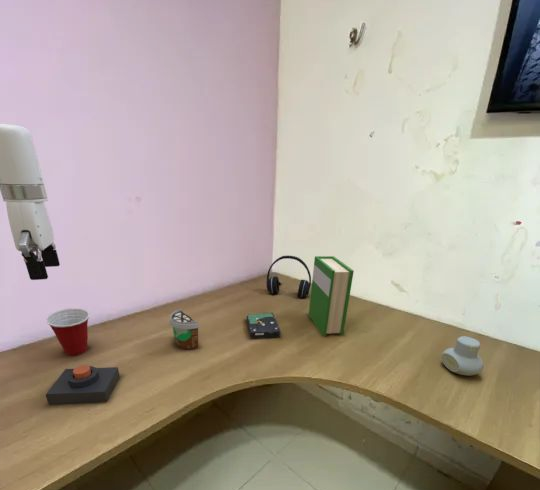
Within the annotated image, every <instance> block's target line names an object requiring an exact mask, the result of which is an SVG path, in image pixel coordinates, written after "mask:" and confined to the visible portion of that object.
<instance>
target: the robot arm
mask: <svg viewBox="0 0 540 490" xmlns="http://www.w3.org/2000/svg"><path fill="white" fill-rule="evenodd" d="M43 178H44V177H43V175H42V171H41V167H40V163H39V159H38V154H37V151H36V147H35V143H34V139H33V136H32V133H31V132H30V130H29V129H28V128H26V127H24V126H22V125H18V124H10V123H8V124H7V123H0V195H1V196H2V197H1V198H2V201H3V202H5V206H6V213H7V218H8V223H9V227H10V232H11V235H12V239H13V243H14V247H15V249H16V250H17V251H19V252H21V254H20V255H21V256H22V257H23V263H25V267H26V270H27V274H28V277H29V279H30V280H31V281H39V280H48V278H49V275H48V272H47V268H51V267H53V268H54V267H60V265H61V264H60V263H61V262H60V259H59V255H58V251H57V249H56V244H55V236H54V235H55V234H54V230H53V227H52V222H51V219H50V216H49V212H48V210H47V207H46V204H45V202H48V201H49V199H48V195H47V191H46V187H45V183H44V179H43Z"/></svg>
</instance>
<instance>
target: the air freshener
mask: <svg viewBox="0 0 540 490" xmlns="http://www.w3.org/2000/svg"><path fill="white" fill-rule="evenodd" d="M480 349H481V343H480V341H479V340H477V339H475V338H472V337H470V336H465V335H463V336H460V337H457V339H456V342H455V345H454V347H450V348H447V349H445V350H444V351H443V352H442V353H441V362H442V363H443V365H444V367H446V368H447V369H448V370H449V371H450V372H452V373H455V374H458V375H461V376H467V377H468V376H475V375H478V374H480V373H481V372H482V371H483V370H484V366H485V365H484V362H483V359H482V358H481V357H480V356H479V355H478V353H479V351H480Z"/></svg>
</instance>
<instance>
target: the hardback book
mask: <svg viewBox="0 0 540 490" xmlns="http://www.w3.org/2000/svg"><path fill="white" fill-rule="evenodd" d="M354 272H355V270H353V269H352V268H351V267H350V266H348V265H347V264H345V262H343V261H341V260H340V259H339V258H338V257H335V255H329V256H327V255H322V256H321V255H320V256H319V255H316V256H314V261H313V270H312V278H311V287H310V297H309V308H308V309H309V310H308V316H309V318H310V319H311V320H312V322H313V324H314V325H315V326H316V328H317V329H318V331H319V332H320V334H321V336H322V337H327V335H328V334H339V336H344V332H345V326H346V320H347V315H348V314H347V313H348V307H349V302H350V296H351V290H352V284H353V278H354Z"/></svg>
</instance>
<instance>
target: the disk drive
mask: <svg viewBox="0 0 540 490" xmlns="http://www.w3.org/2000/svg"><path fill="white" fill-rule="evenodd" d="M246 323H247V326H248V331H249V336H250V338H251V339H265V338H267V339H268V338H269V339H270V338H280V337H281V328H280V326H279V324H278V322H277V320H276V317H275V315H274V312H259V313H247V315H246Z"/></svg>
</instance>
